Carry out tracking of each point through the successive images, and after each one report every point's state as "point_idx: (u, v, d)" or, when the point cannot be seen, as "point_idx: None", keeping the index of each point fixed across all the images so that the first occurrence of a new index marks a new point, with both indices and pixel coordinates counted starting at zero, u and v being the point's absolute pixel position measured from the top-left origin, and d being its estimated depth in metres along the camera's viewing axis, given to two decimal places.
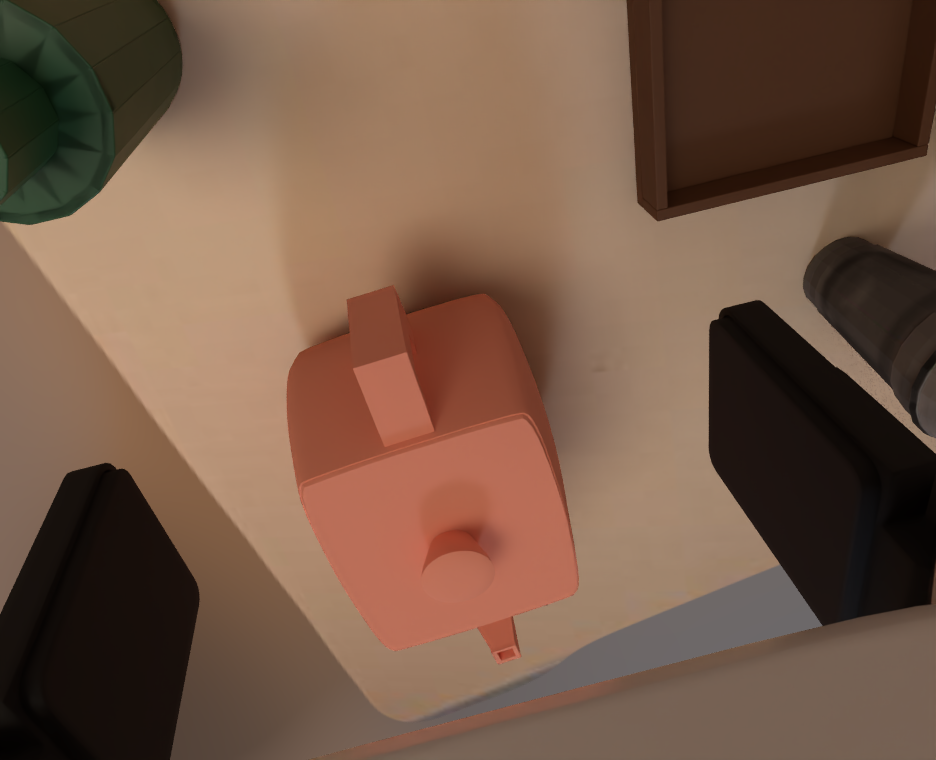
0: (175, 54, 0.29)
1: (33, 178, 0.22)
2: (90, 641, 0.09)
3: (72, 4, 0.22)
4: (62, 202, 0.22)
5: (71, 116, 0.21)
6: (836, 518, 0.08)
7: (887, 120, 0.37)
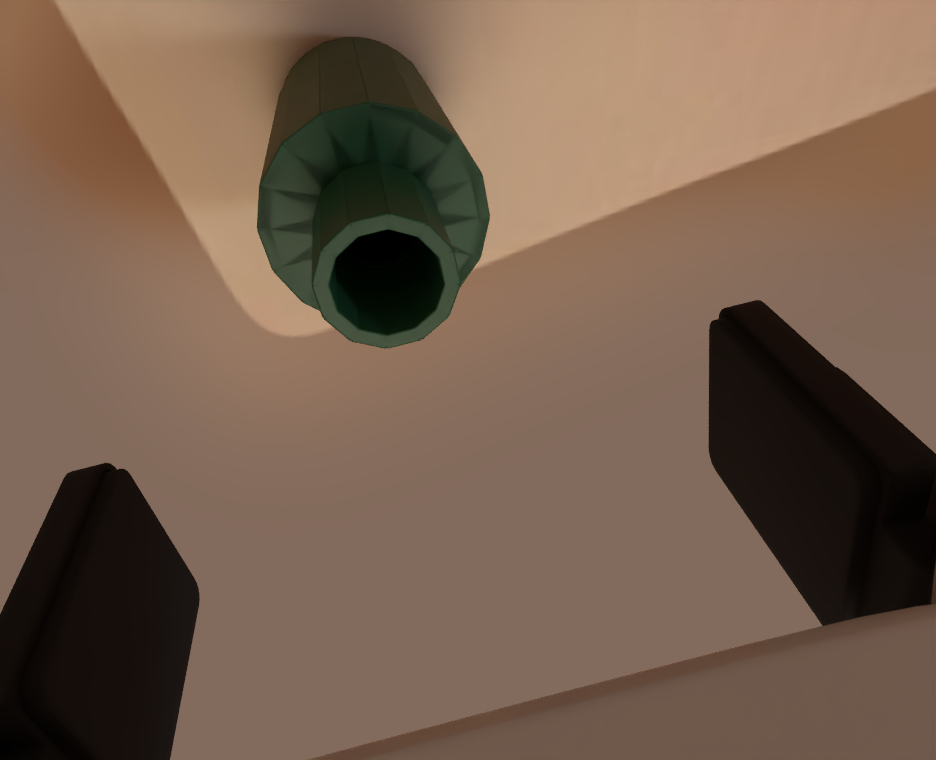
0: (352, 41, 0.27)
1: (439, 201, 0.20)
2: (91, 641, 0.09)
3: (279, 126, 0.21)
4: (468, 179, 0.20)
5: (373, 147, 0.19)
6: (836, 518, 0.08)
7: None
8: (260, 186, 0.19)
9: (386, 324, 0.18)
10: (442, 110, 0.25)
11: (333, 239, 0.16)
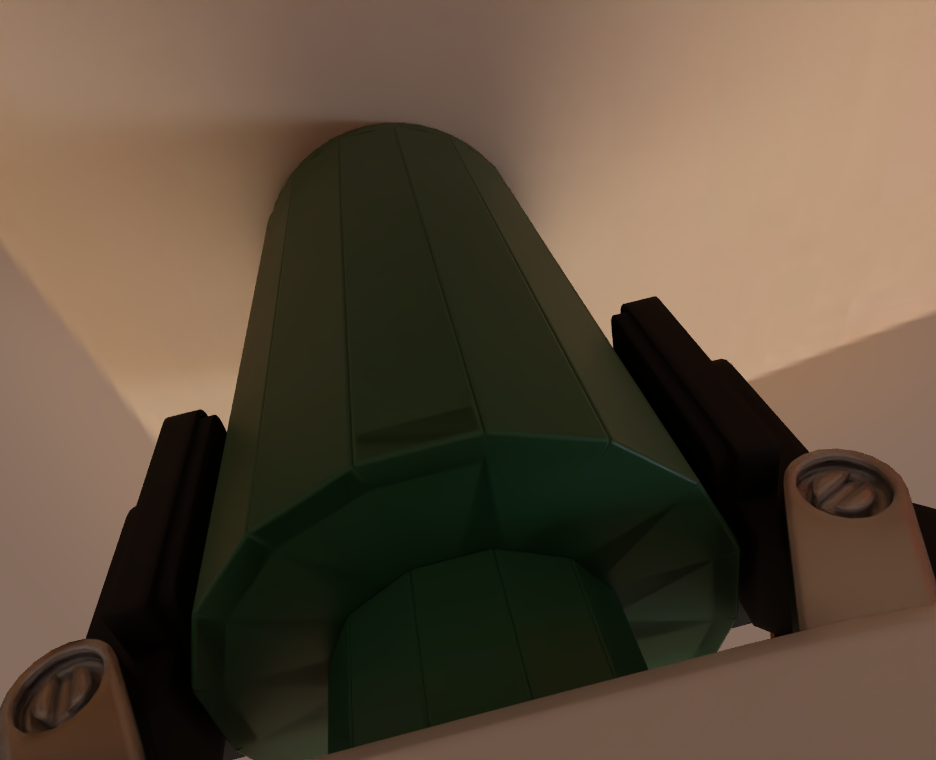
0: (396, 138, 0.15)
1: (632, 602, 0.08)
2: None
3: (254, 384, 0.10)
4: (703, 552, 0.08)
5: (488, 521, 0.07)
6: None
7: None
8: (194, 619, 0.07)
9: None
10: None
11: None
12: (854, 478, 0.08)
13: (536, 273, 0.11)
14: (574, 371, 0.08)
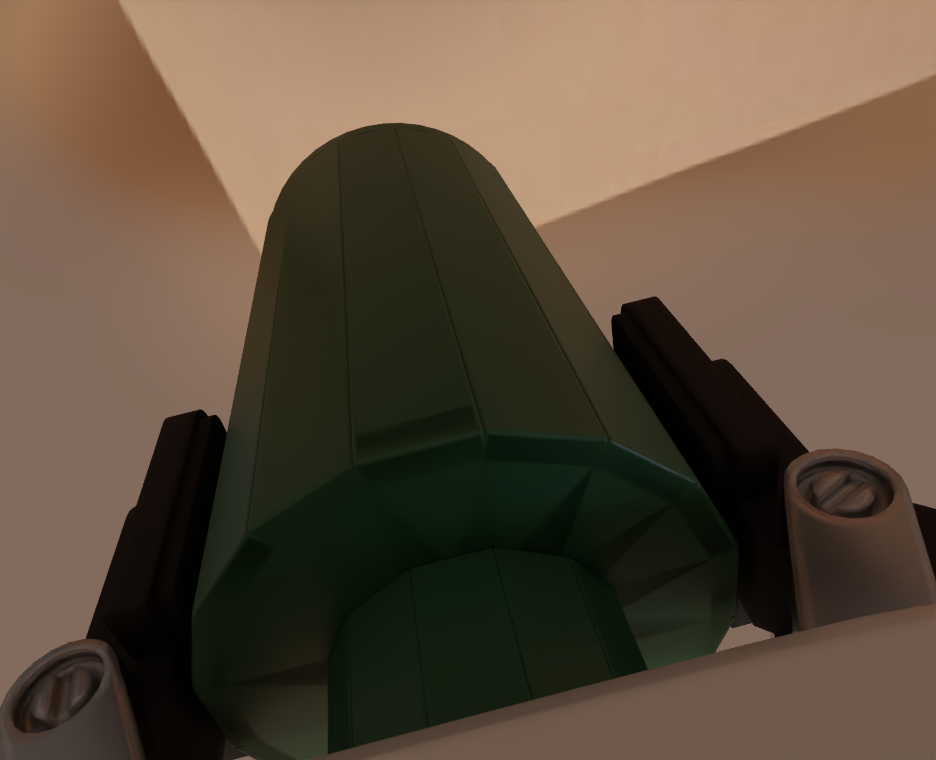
0: (396, 138, 0.15)
1: (631, 601, 0.08)
2: None
3: (254, 383, 0.10)
4: (702, 551, 0.08)
5: (487, 520, 0.07)
6: None
7: None
8: (194, 617, 0.07)
9: None
10: None
11: None
12: (854, 478, 0.08)
13: (536, 273, 0.11)
14: (573, 371, 0.08)
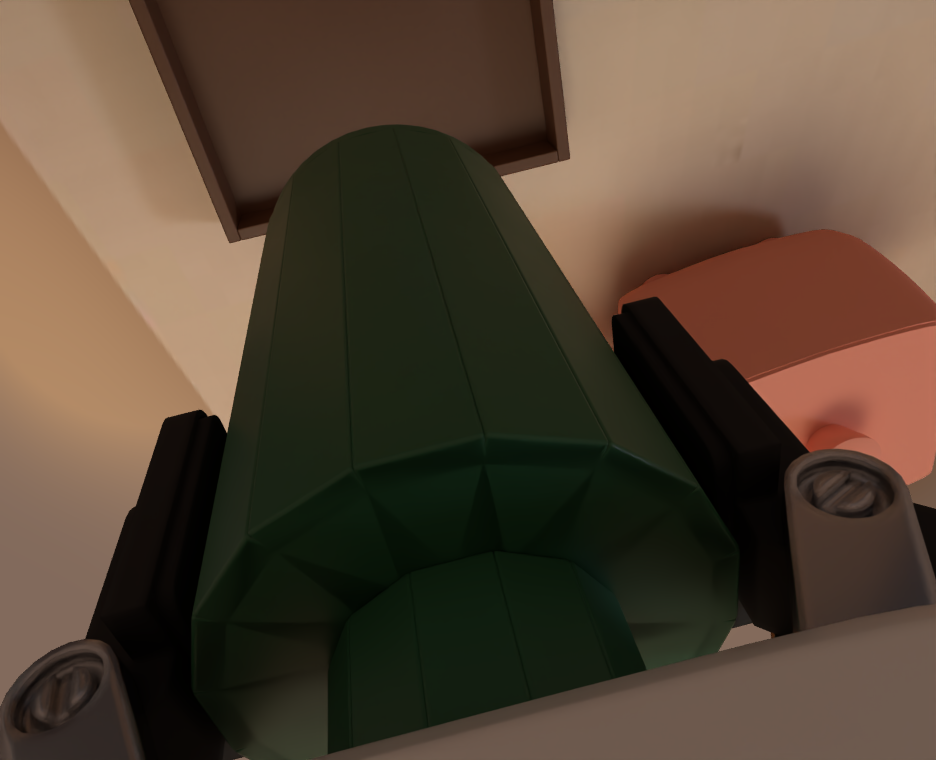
0: (397, 140, 0.15)
1: (632, 605, 0.08)
2: None
3: (254, 386, 0.10)
4: (702, 555, 0.08)
5: (487, 524, 0.07)
6: None
7: None
8: (194, 621, 0.07)
9: None
10: None
11: None
12: (854, 478, 0.08)
13: (536, 275, 0.11)
14: (574, 374, 0.08)
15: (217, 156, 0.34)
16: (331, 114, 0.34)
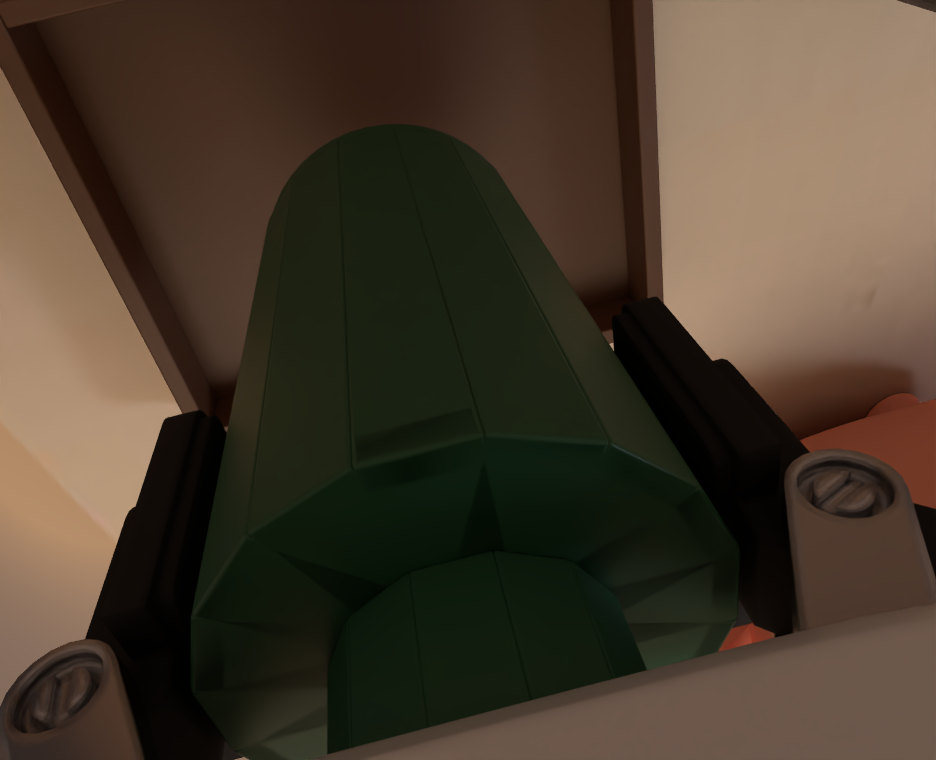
0: (397, 139, 0.15)
1: (632, 604, 0.08)
2: None
3: (254, 385, 0.10)
4: (703, 554, 0.08)
5: (487, 524, 0.07)
6: None
7: None
8: (193, 621, 0.07)
9: None
10: None
11: None
12: (855, 478, 0.08)
13: (536, 274, 0.11)
14: (574, 373, 0.08)
15: (183, 330, 0.25)
16: None
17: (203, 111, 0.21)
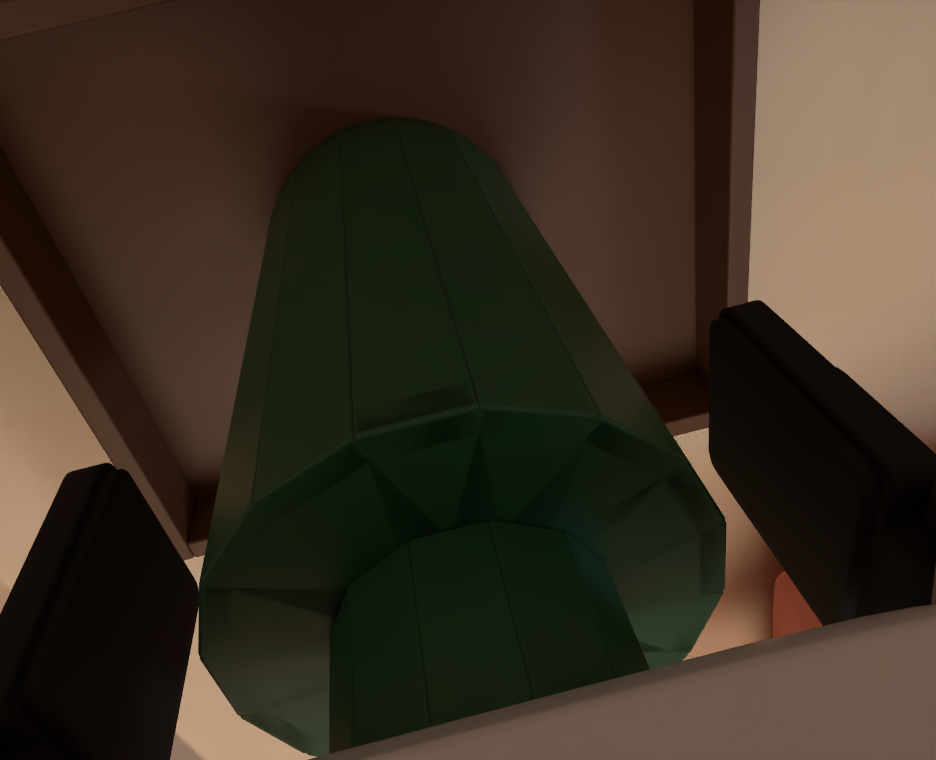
0: (397, 132, 0.16)
1: (622, 575, 0.09)
2: (90, 641, 0.09)
3: (259, 366, 0.10)
4: (690, 527, 0.09)
5: (483, 494, 0.08)
6: (836, 518, 0.08)
7: None
8: (201, 586, 0.08)
9: None
10: None
11: None
12: None
13: (532, 261, 0.11)
14: (566, 352, 0.08)
15: (153, 423, 0.20)
16: None
17: (172, 162, 0.17)
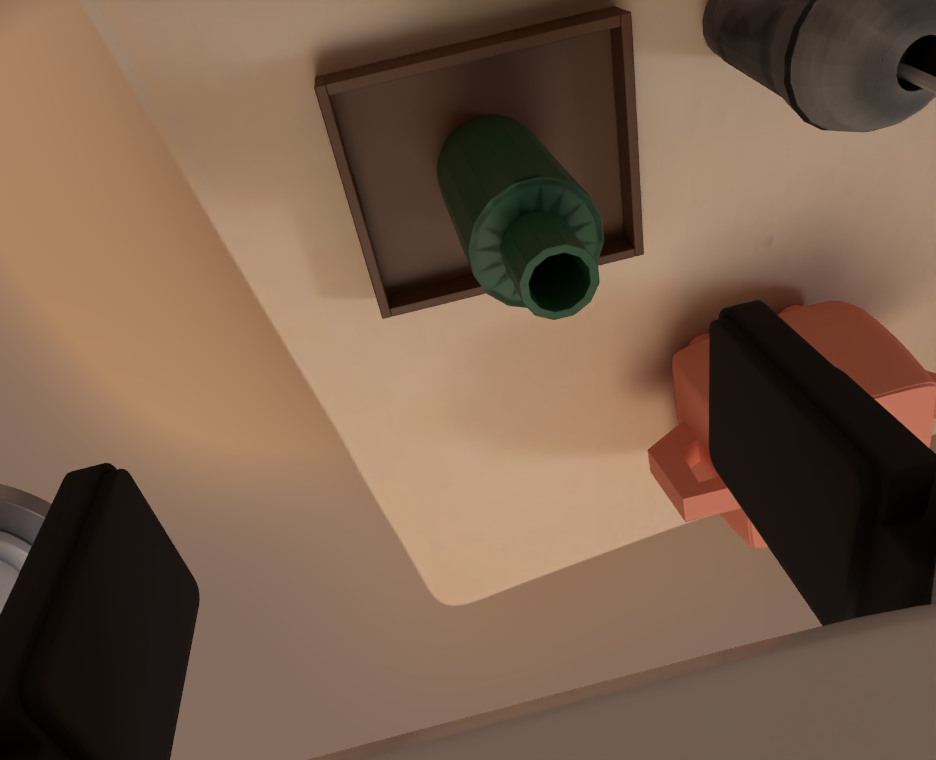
0: (496, 120, 0.40)
1: (575, 233, 0.33)
2: (90, 641, 0.09)
3: (472, 185, 0.35)
4: (593, 219, 0.33)
5: (541, 202, 0.32)
6: (836, 518, 0.08)
7: (594, 33, 0.40)
8: (474, 224, 0.32)
9: (552, 305, 0.31)
10: None
11: (534, 258, 0.29)
12: None
13: (550, 158, 0.36)
14: (560, 173, 0.33)
15: (375, 253, 0.45)
16: None
17: (402, 132, 0.41)
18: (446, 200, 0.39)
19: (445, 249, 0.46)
